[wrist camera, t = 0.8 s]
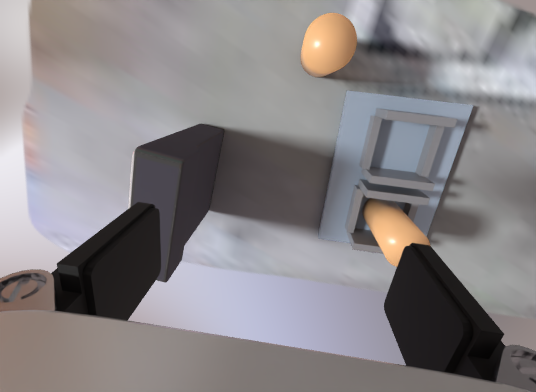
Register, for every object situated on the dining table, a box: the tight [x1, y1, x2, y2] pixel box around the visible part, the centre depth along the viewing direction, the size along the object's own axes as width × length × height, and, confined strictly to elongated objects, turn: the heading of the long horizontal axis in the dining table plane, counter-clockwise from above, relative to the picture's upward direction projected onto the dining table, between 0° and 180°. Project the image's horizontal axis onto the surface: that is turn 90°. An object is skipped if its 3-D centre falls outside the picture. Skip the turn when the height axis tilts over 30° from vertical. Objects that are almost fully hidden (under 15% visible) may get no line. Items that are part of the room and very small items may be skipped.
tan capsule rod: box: [301, 13, 357, 77], centre depth 26 cm, size 4×4×9 cm
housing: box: [318, 91, 473, 267], centre depth 29 cm, size 18×13×10 cm
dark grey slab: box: [128, 124, 224, 282], centre depth 28 cm, size 11×4×15 cm, turn 165°
